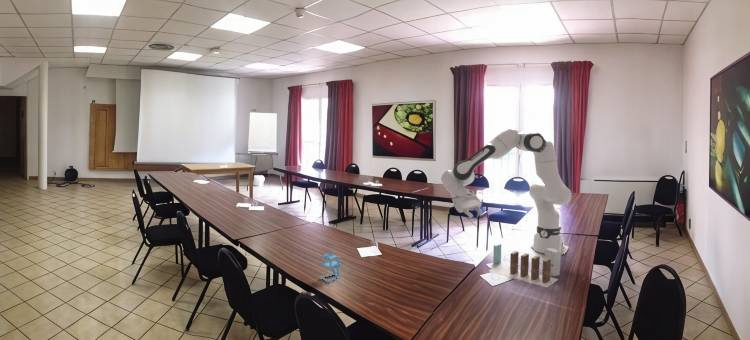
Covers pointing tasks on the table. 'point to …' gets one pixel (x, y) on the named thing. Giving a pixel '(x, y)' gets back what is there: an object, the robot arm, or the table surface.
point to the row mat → (506, 272)
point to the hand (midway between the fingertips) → (476, 215)
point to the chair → (331, 265)
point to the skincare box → (554, 260)
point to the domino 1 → (497, 254)
